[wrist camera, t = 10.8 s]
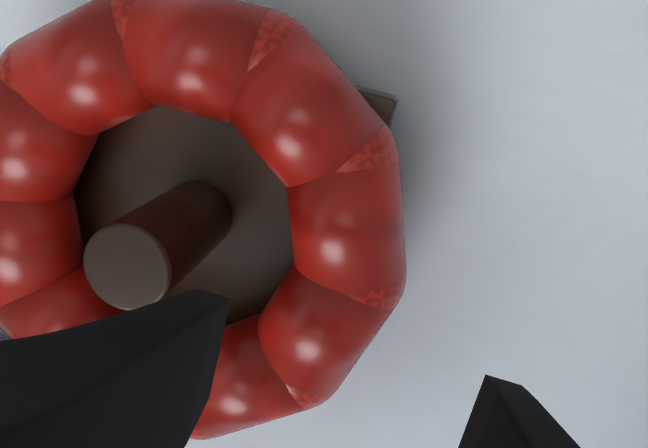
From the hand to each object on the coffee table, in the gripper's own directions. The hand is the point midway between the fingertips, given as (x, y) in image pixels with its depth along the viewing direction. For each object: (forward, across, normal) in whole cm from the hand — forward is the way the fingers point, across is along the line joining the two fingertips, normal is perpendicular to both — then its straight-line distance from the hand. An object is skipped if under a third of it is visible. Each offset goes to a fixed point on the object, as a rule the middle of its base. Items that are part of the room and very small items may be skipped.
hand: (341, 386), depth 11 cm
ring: (+5, +5, 0) cm, 7 cm away
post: (+8, +5, 0) cm, 9 cm away
